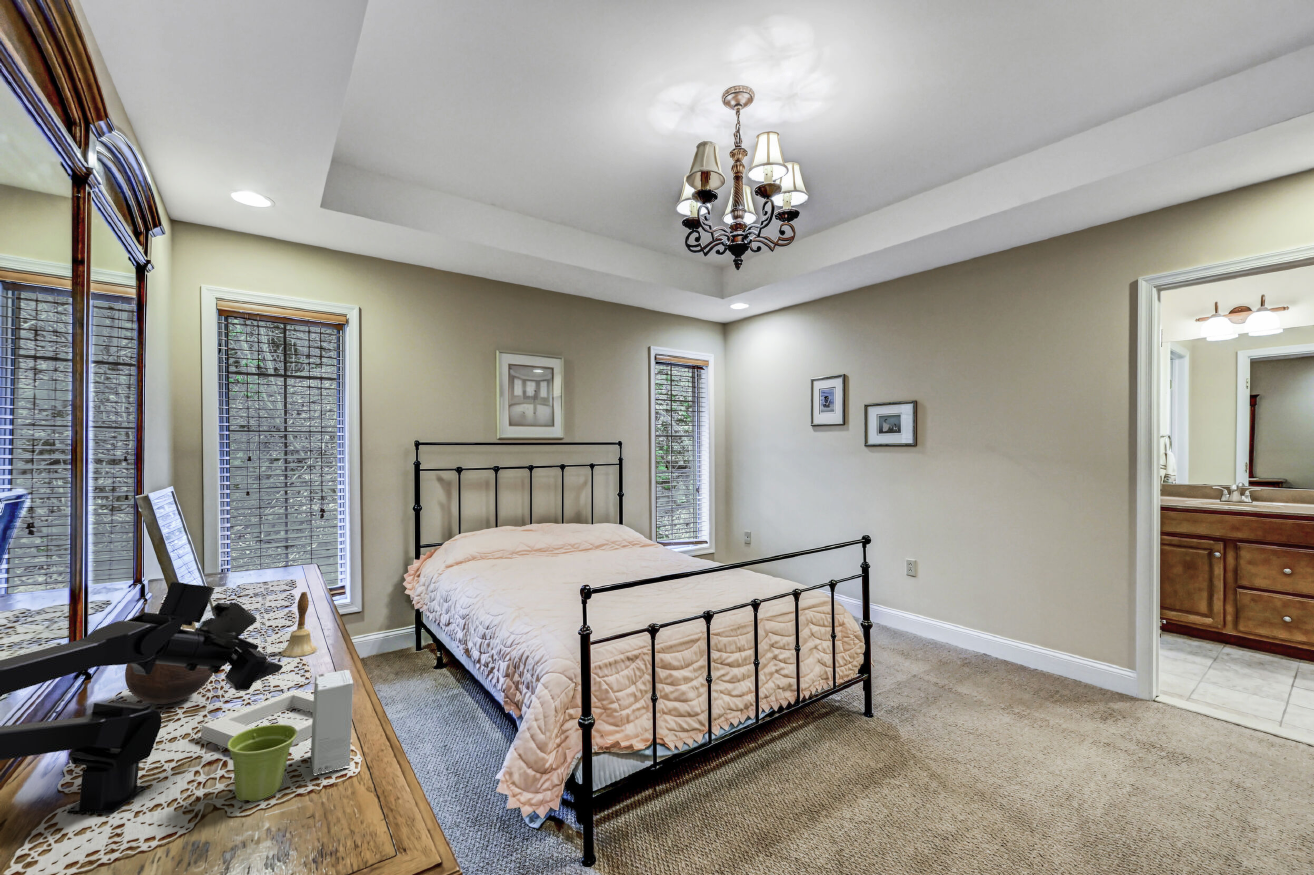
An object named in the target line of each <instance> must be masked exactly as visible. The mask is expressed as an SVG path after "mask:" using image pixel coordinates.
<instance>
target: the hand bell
mask: <svg viewBox="0 0 1314 875" xmlns="http://www.w3.org/2000/svg"><path fill="white" fill-rule="evenodd" d="M309 603H310V601H309V597H308V592H307V591H302V592H300V595H299V598H298V601H297V605H296V606H297V614H298V620H297V626H296V629H295V630H293V631H291V633H290V636H289V640H288V643H287V645H286V646H285V648H284V649H282V651H281V653H280V655H281V656H282V657H285V658H299V657H305V656H309V655H312V654H314V653H316V652H317V650H318V648H317V646H315V645H314V644H313V641H312V639H311V631H310V630H309V629H306V628H305V627H306V626H305V625H306V614H307V612H308V610H309Z"/></svg>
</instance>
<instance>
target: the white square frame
mask: <svg viewBox="0 0 1314 875" xmlns="http://www.w3.org/2000/svg"><path fill="white" fill-rule="evenodd" d="M313 702H314V694H311V693H308V692H304V691H302V690H298V689H294V690H291V691H289V692H286V693H285V692H284V693H283V694H281V695H278V696H275V697H272V698H269V699H267V700H263V701H262V702H259V703H256V704H253V705H251V706H249V707H245V708H244V709H243V708H242V709H240V710H238V711H235V712H233V713H230V714H227V715H223V716H222V717H220V718H219V717H218V718H216V719H214V720H211V721H209V722H208V721H207V722H206V723H203V724H202V725H201V734H200V739H203V740H205V741H207V742H210V743H213V744H214V745H218V746H220V747H223V748H226V749H228V747H227V746H228V742H229V741H230V739H231V738H233V737H234V736H235V735H237V734H239V733H241V732H243V731H246V730H248V729H251V728H252V727H250V726H248V725H250V724H252V723H255V722H259V721H260V720H263V719H265V718H267V717H270V716H272V715H274V714H277V713H280V712H282V711H285V710H288V709H289V708H295V709H299V710H302V711H304V712H305V711H306V712H308V711H310V712H309V713H311V712H313ZM312 719H313V717H312V718H310V719H308V720H305V721H304V722H303V721H302V722H301V723H299V724H296V725H294V726H293V727H294V728H295V729H296V730H297V736H296V738H295V739H294V740H293V743H292V746H291V747H293V746H295V745H297V744H299V743H301V742H304V741H306V740H308V739H310V738H312V737H311V736H312Z"/></svg>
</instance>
